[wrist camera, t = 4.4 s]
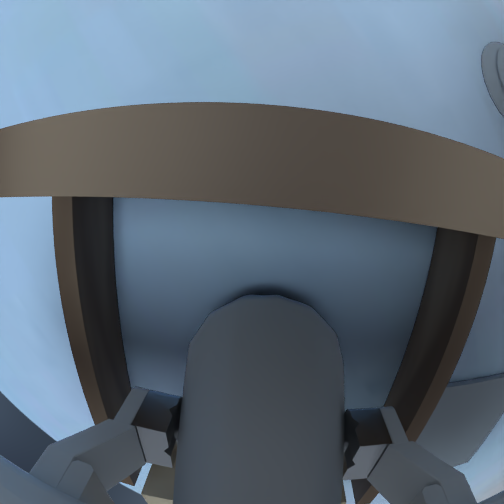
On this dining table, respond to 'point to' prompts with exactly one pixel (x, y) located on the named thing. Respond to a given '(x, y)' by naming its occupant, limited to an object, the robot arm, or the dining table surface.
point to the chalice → (494, 72)
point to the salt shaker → (262, 407)
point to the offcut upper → (170, 485)
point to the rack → (264, 194)
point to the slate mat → (463, 419)
